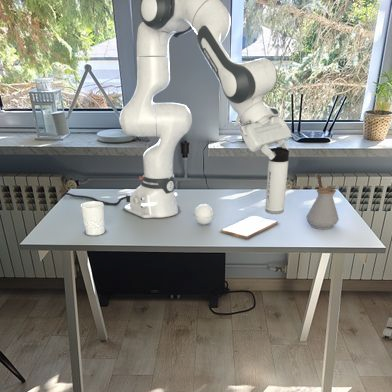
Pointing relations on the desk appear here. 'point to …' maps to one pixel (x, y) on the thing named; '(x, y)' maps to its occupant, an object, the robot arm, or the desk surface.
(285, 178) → the travel mug
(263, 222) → the white flat rectangular slab
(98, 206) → the white cup
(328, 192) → the coffee pot
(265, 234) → the desk surface
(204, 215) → the seamed sphere
